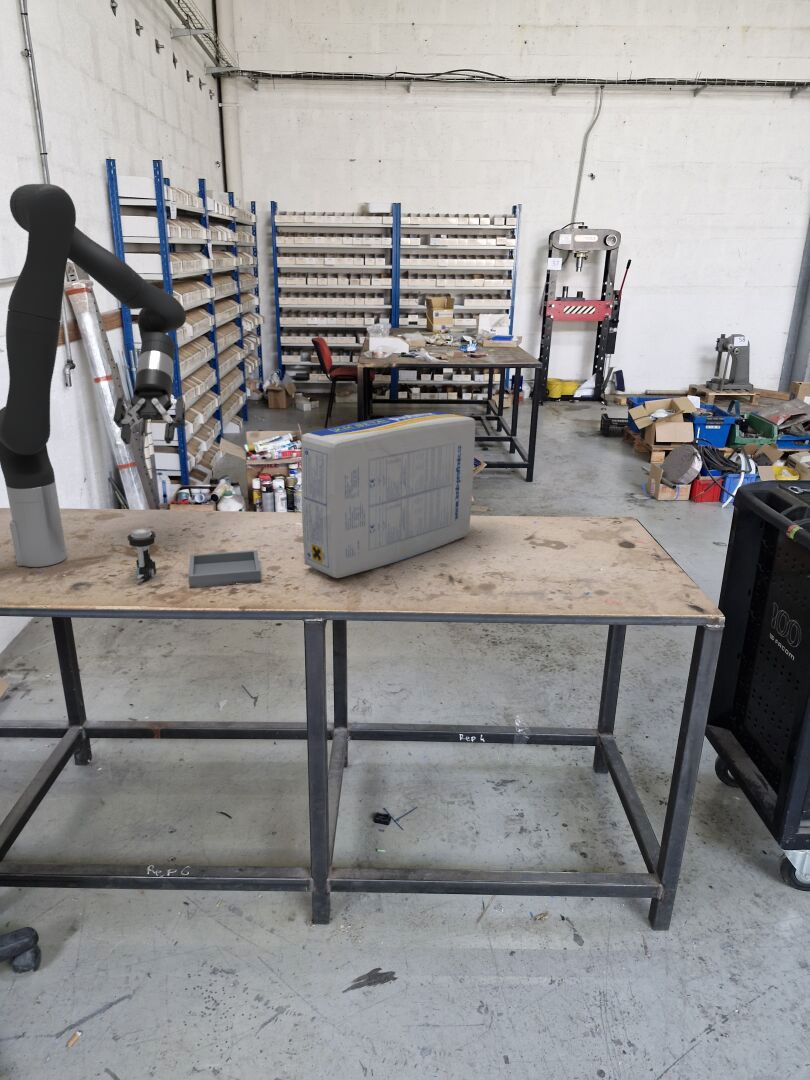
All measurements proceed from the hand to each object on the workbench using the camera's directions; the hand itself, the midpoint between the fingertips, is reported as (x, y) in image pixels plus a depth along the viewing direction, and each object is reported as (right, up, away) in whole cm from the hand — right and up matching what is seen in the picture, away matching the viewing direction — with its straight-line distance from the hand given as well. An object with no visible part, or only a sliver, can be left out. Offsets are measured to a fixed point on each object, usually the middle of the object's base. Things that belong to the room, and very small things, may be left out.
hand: (146, 442), depth 148 cm
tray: (+16, -27, 0) cm, 32 cm away
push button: (+1, -28, -2) cm, 29 cm away
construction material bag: (+51, -24, +14) cm, 58 cm away
